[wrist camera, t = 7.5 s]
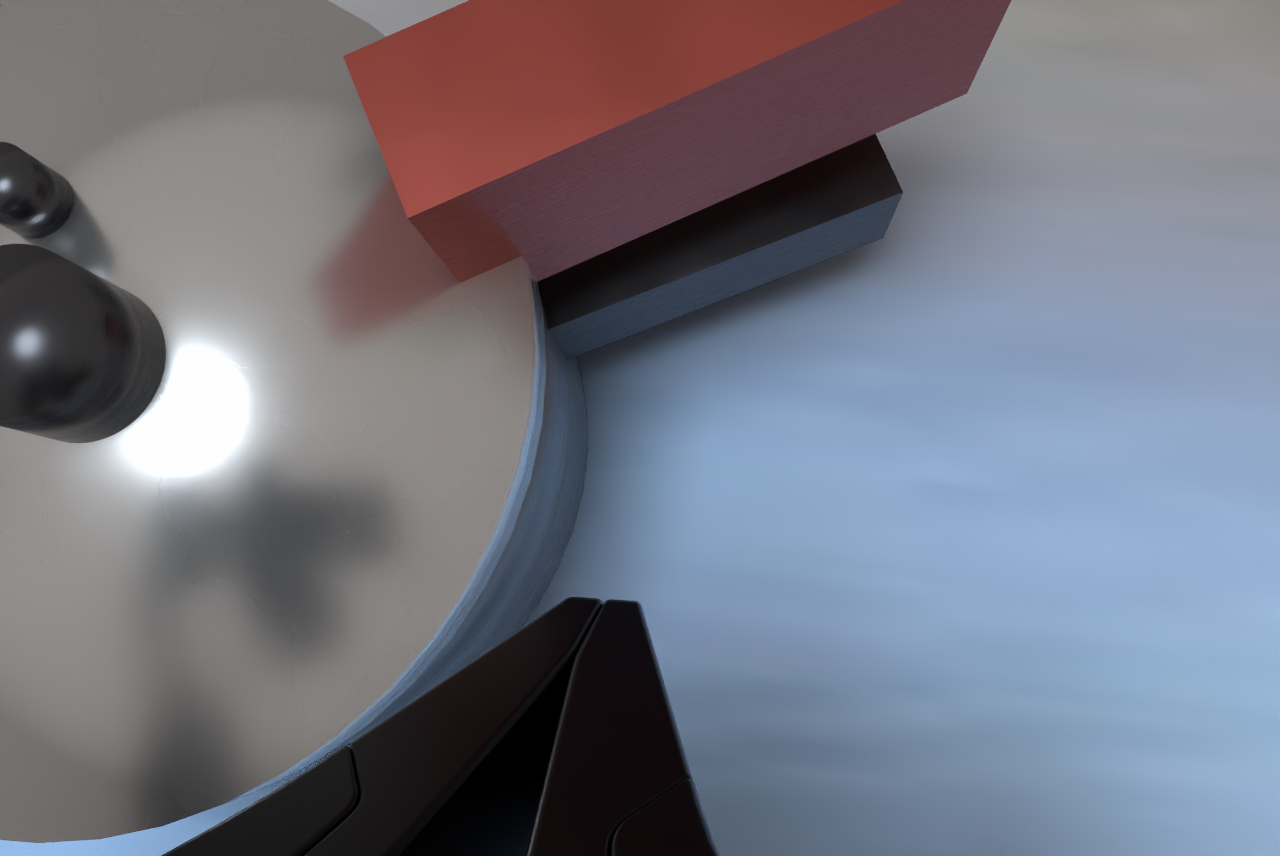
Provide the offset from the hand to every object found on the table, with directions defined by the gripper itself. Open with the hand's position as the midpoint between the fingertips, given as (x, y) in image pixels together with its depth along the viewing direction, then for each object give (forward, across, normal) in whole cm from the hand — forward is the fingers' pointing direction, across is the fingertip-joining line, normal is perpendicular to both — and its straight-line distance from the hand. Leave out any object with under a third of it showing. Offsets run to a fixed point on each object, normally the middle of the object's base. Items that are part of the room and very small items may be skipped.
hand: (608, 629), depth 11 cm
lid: (+6, -7, +1) cm, 9 cm away
